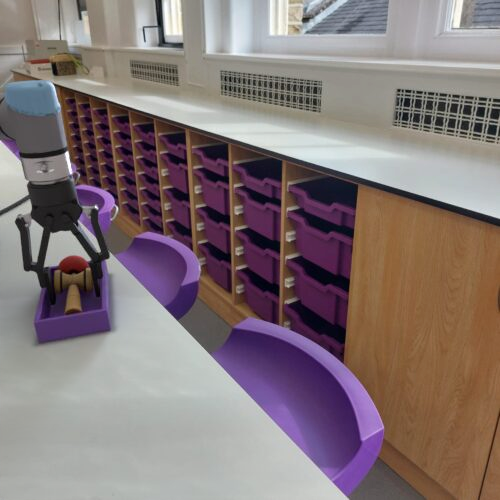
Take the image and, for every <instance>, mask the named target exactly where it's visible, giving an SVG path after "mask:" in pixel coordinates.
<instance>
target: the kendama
mask: <svg viewBox="0 0 500 500" xmlns="http://www.w3.org/2000/svg"><path fill="white" fill-rule="evenodd" d="M87 261H88V260H86V258H84V257H82V256H80V255H75V254H73V255H67V256H66V257H64V258H63V259H61V261H60V262H59V264H58V265H57V266H58V268H57V270H56V271H55V272H54V291H55V294H61V293H62V292H63V291H64V290H66V289H69V290H68V293H67V300H66V307H65V313H64V315H70V314H76V313H82V307H81V300H80V293H79V289H82V290H84V291H85V292H86V293H93V279H92V274H91V269H90V267H89V264H88V263H87ZM78 288H79V289H78Z"/></svg>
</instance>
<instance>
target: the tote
mask: <svg viewBox="0 0 500 500" xmlns="http://www.w3.org/2000/svg"><path fill="white" fill-rule="evenodd" d="M86 261H87V263H88V264H89V267H90V260H86ZM101 264H102V269H103V278H102V279H98V281H99V286H100V297H96V294H95V289H94V284H93V293H86V292H85V291H84V290H82V289H79V288H78V289H79V293H80V300H81V307H82V313H76V314H70V315H64V313H65V307H66V300H67V293H68V290H69V289H66V290H64V291H63V292H62V293H61V294H56V304H55V305H51V303H50V299H49V295H48V291H47V287H46V288H41V290H40V294H39V299H38V303H37V306H36V312H35V316H34V321H33V326H34V329H35V334H36V337H37V341H38V344H44V343H48V342H54V341H59V340H66V339H70V338H71V339H72V338H77V337H82V336H87V335H92V334H98V333H102V332H103V333H104V332H109V331H111V329H112V327H111V325H112V324H111V302H110V301H111V300H110V276H109V271H108V264H107V260H106V259H105V260H103V261H102V262H101ZM49 268H50V272H51V277H52V281H53V285H54V272H55V271H56V270H57V268H58V265H51V266H49Z"/></svg>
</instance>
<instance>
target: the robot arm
mask: <svg viewBox="0 0 500 500" xmlns="http://www.w3.org/2000/svg"><path fill="white" fill-rule="evenodd" d="M2 140H10V141H15V143H16V147H17V151H18V156H19V159H20V163H21V168H22V172H23V176H24V179H25V180H26V181H28V182H27V184H26V188H27V193H28V194H27V195H26V196H24V197H22V198H21V199H19V200H17V201H15V202H13V203H12V204H10V205H9V206H7V207H4V208H2V209H0V215H2V214H4V213H6V212H7V211H9V210H11V209H14V208H15V207H17V206H19V205H20V204H22V203H23V202H25V201H27V200H28V199H29V201H30V205H31V210H30V212H28V213H25V214H22V213H19V214H17V216H16V218H15V220H14V224H15V225H16V228H17V230H18V232H19V237H20V245H21V246H20V247H21V256H22V258H21V259H22V266H23V270H24V272H28V273H29V272H34V273H35V274H36V276H37V280H38V285H39V287H40V288H41V289H42V288H46V287H47V291H48V295H49V299H50V303H51V305H55V304H56V294H55V291H54V285H53V281H52V277H51V272H50V268H49V267H50V266H49V265H48V266H45V262H46V256H47V253H48V249H49V248H48V247H49V243H50V239H51V234H56V233H58V232H70V233H71V234H72V235H73V236H74V237H75V238H76V240H77V241H78V242H79V244H80V246H81V247H82V248H83V250H84V252H85V253H86V255H88V257H89V258H90V259H89V261H90V269H91V274H92V279H93V284H94V289H95V294H96V297H100V286H99V281H98V279H102V278H103V269H102V264H101V262H102V261H103V260H105V259H106V261H107V260H109V259H110V257H111V255H110V254H111V252H110V248H109V244H108V243H107V239H106V237H105V234H104V230H103V228H102V224H101V221H100V219H99V205H98V204H92V205H91V206H89V205H83V204H82V203H81V201H80V200H79V197H78V192H77V186H76V181H75V178H74V177H73V176H72V174H73V165H72V161H71V155H70V151H69V147H68V142H67V137H66V131H65V126H64V120H63V114H62V105H61V103H60V102H59V99H58V95H57V91H56V87H55V85H54V83H52V81H49V80H46V79H39V80H35V79H34V80H33V79H32V80H20V81H12V82H8V83H6V84H5V85H4V87H3V92H0V141H2ZM82 214H84V215H85V217H86V219H87V220H90V224H91V227H92V230H93V233H94V236H95V238H96V242H97V244H98V247H99V250H100V251H99V252H98V250H97V248H96V247H95V245H94V244H93V242H92V241H91V240H90V238H89V237H88V235H87V234H86V232H85V231H84V230H83V228H82V226H81V223H80V222H79V220H80V217H81V216H82ZM32 220H33V221H34V222H35V223H37V224H38V225H39V226H40V227H42V233H41V239H40V245H39V249H38V255H37V259H36V261H33V252H32V241H31V240H32V239H31V230H30V227H31V225H32Z"/></svg>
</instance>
